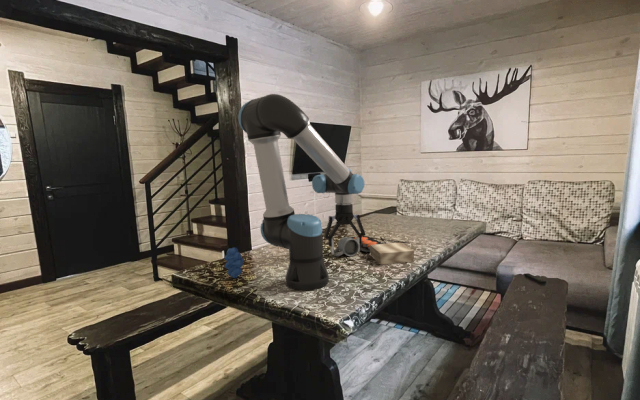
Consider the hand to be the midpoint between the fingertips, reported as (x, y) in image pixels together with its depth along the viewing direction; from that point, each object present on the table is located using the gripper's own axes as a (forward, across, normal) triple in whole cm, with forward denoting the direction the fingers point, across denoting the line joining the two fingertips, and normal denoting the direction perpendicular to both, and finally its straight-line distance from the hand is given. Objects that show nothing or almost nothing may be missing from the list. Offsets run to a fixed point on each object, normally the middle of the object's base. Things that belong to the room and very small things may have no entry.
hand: (345, 252), depth 148 cm
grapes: (+1, +46, +17) cm, 49 cm away
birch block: (+1, -17, +11) cm, 20 cm away
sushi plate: (+2, -21, -14) cm, 25 cm away
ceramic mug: (+1, 0, 0) cm, 1 cm away
